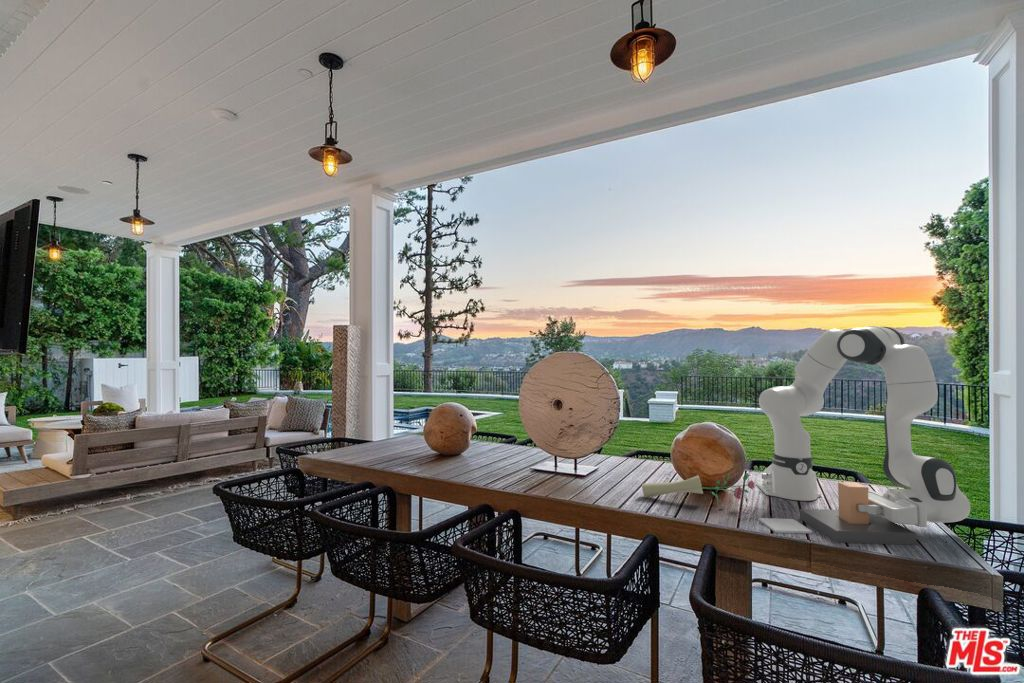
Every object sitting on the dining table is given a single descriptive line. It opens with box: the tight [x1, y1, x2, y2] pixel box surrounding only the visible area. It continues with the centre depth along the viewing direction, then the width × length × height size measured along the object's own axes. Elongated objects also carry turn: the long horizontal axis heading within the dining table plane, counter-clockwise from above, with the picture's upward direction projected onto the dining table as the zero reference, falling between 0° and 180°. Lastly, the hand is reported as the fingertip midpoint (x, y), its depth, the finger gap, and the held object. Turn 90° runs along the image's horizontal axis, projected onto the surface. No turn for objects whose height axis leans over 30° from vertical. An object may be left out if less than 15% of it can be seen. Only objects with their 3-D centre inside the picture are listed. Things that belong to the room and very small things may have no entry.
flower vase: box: [641, 471, 755, 509], centre depth 155 cm, size 12×12×35 cm
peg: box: [837, 481, 869, 524], centre depth 132 cm, size 5×5×13 cm
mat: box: [758, 517, 813, 534], centre depth 135 cm, size 10×10×1 cm
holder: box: [799, 508, 917, 545], centre depth 131 cm, size 18×20×3 cm
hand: (850, 503), depth 132 cm, fingers closed on peg, 5 cm apart
